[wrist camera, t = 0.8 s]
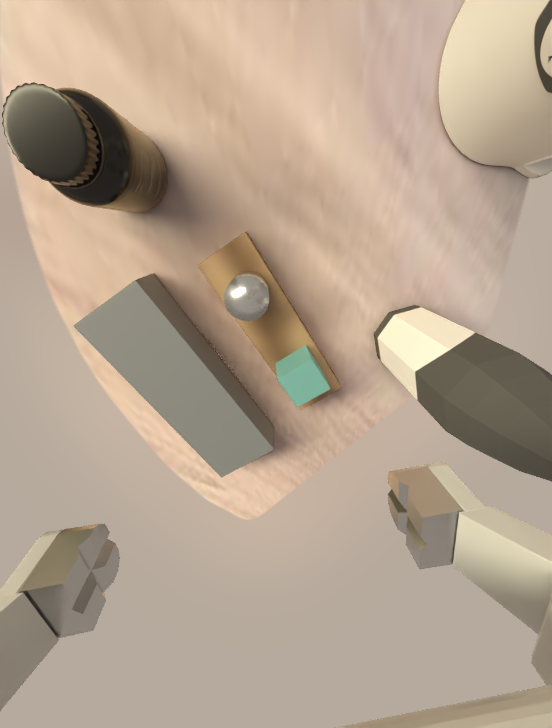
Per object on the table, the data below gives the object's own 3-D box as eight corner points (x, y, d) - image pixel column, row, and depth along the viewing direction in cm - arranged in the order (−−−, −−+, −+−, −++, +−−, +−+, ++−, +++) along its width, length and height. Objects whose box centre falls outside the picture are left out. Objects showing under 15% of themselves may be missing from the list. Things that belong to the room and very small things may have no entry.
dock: (153, 273, 31) (135, 280, 27) (272, 424, 40) (274, 449, 36) (99, 312, 33) (73, 325, 28) (225, 450, 42) (221, 477, 37)
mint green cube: (306, 344, 32) (311, 359, 29) (323, 371, 34) (330, 388, 30) (275, 363, 33) (277, 379, 29) (293, 388, 34) (297, 407, 31)
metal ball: (254, 262, 28) (252, 266, 25) (276, 297, 30) (277, 305, 26) (221, 285, 29) (214, 292, 26) (244, 318, 31) (241, 329, 27)
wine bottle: (391, 377, 38) (719, 744, 11) (359, 332, 35) (692, 671, 8) (448, 340, 36) (1013, 670, 9) (419, 289, 34) (1111, 541, 6)
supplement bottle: (125, 108, 26) (24, 17, 15) (183, 177, 28) (134, 143, 17) (78, 168, 27) (-43, 125, 16) (137, 229, 30) (65, 227, 19)
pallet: (246, 232, 31) (244, 231, 27) (334, 374, 38) (341, 387, 35) (204, 262, 32) (197, 265, 28) (297, 394, 39) (300, 410, 36)
